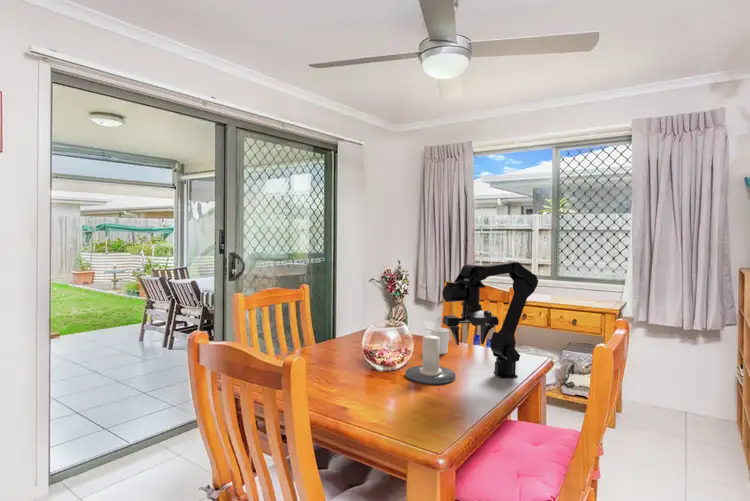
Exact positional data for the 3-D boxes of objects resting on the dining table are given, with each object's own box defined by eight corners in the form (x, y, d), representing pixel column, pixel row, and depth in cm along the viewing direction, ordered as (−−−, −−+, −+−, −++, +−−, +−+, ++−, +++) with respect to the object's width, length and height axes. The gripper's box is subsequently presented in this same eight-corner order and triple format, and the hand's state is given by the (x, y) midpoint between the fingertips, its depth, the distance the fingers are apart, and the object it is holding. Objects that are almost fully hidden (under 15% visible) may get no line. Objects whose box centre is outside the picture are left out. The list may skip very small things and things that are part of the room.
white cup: (449, 354, 190) (450, 331, 189) (431, 354, 190) (431, 331, 190) (447, 349, 198) (447, 327, 197) (429, 349, 198) (429, 327, 197)
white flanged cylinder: (443, 371, 164) (444, 336, 163) (438, 377, 157) (439, 341, 156) (422, 368, 167) (423, 334, 166) (416, 374, 160) (417, 338, 159)
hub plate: (445, 367, 172) (445, 364, 172) (463, 383, 155) (463, 379, 155) (400, 369, 169) (400, 366, 169) (413, 386, 151) (413, 382, 151)
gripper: (454, 304, 146) (453, 351, 147) (506, 303, 150) (505, 349, 150) (442, 299, 157) (441, 343, 158) (491, 298, 161) (490, 341, 161)
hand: (469, 344), depth 157 cm, fingers open, 9 cm apart
